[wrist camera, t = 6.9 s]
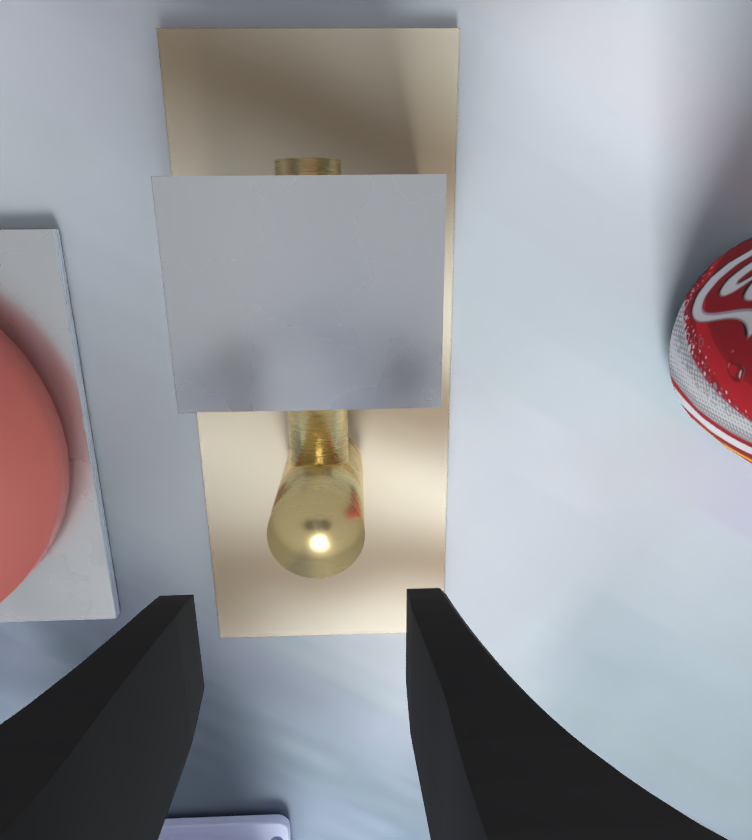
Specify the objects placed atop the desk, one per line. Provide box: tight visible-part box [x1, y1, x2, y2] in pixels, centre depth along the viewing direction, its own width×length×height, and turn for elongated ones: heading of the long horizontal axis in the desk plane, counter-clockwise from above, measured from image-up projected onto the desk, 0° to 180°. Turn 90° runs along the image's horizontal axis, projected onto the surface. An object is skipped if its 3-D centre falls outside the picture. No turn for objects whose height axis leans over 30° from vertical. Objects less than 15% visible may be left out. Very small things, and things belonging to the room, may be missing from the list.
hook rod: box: [267, 157, 365, 578], centre depth 16 cm, size 10×2×5 cm, turn 0°
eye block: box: [151, 174, 447, 413], centre depth 16 cm, size 5×6×5 cm
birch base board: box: [157, 28, 459, 638], centre depth 19 cm, size 19×8×1 cm, turn 0°
